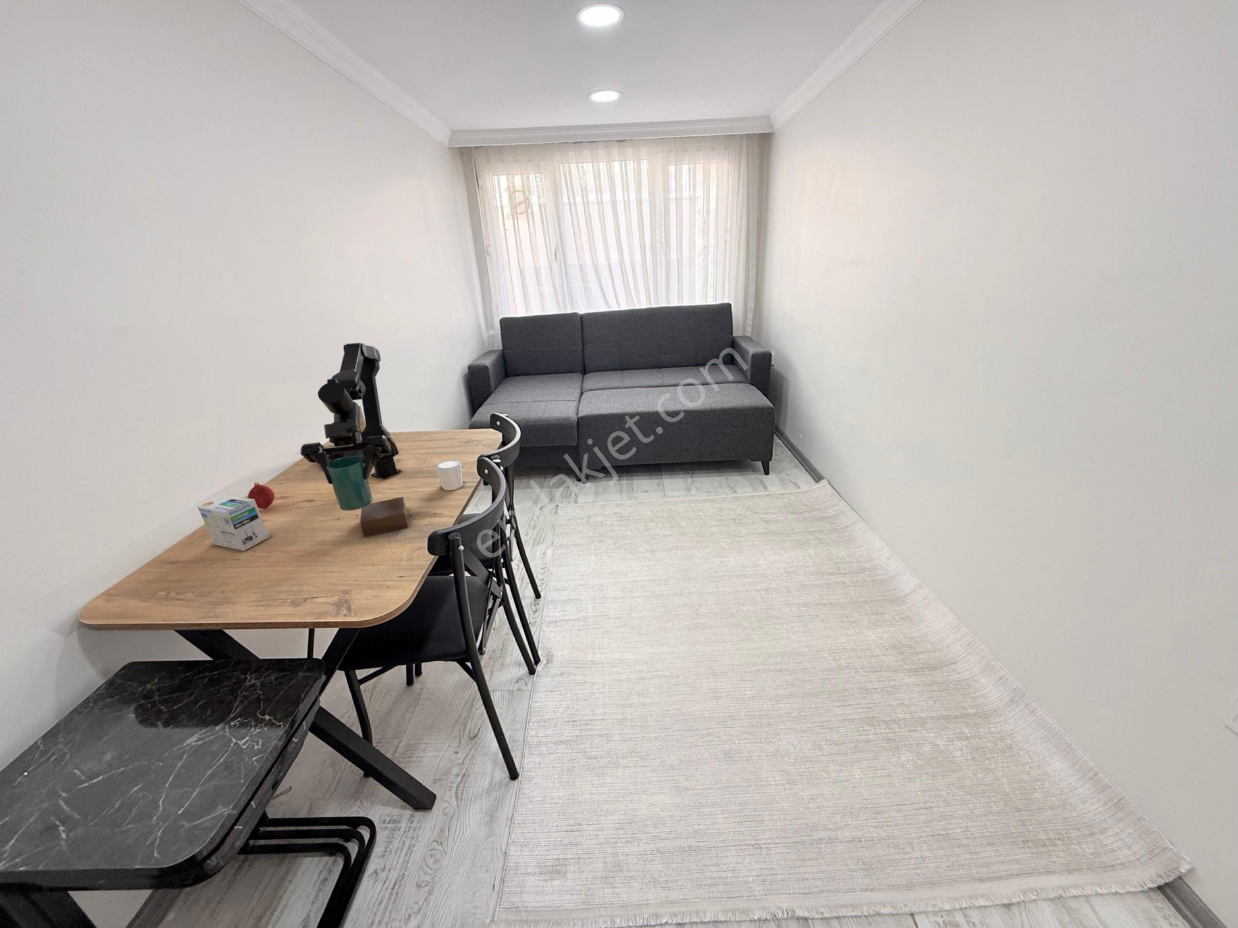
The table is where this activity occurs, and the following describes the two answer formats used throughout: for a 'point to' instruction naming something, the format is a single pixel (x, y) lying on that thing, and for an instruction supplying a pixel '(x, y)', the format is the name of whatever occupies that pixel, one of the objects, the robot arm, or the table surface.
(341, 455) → the dark slate chunk
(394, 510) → the block
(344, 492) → the cup
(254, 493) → the pomegranate
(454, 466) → the white cylinder
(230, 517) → the light bulb box
